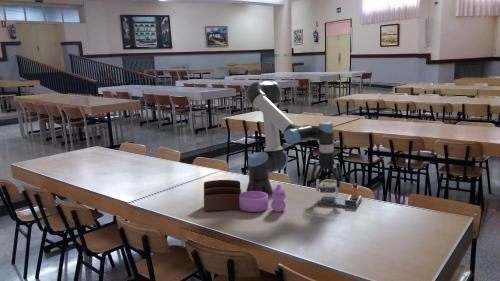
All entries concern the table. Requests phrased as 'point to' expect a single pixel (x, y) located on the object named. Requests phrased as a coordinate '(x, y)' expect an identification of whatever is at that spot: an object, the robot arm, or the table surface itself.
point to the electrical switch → (327, 187)
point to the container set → (262, 200)
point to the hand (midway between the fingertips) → (327, 192)
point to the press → (340, 201)
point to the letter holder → (221, 195)
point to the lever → (354, 192)
